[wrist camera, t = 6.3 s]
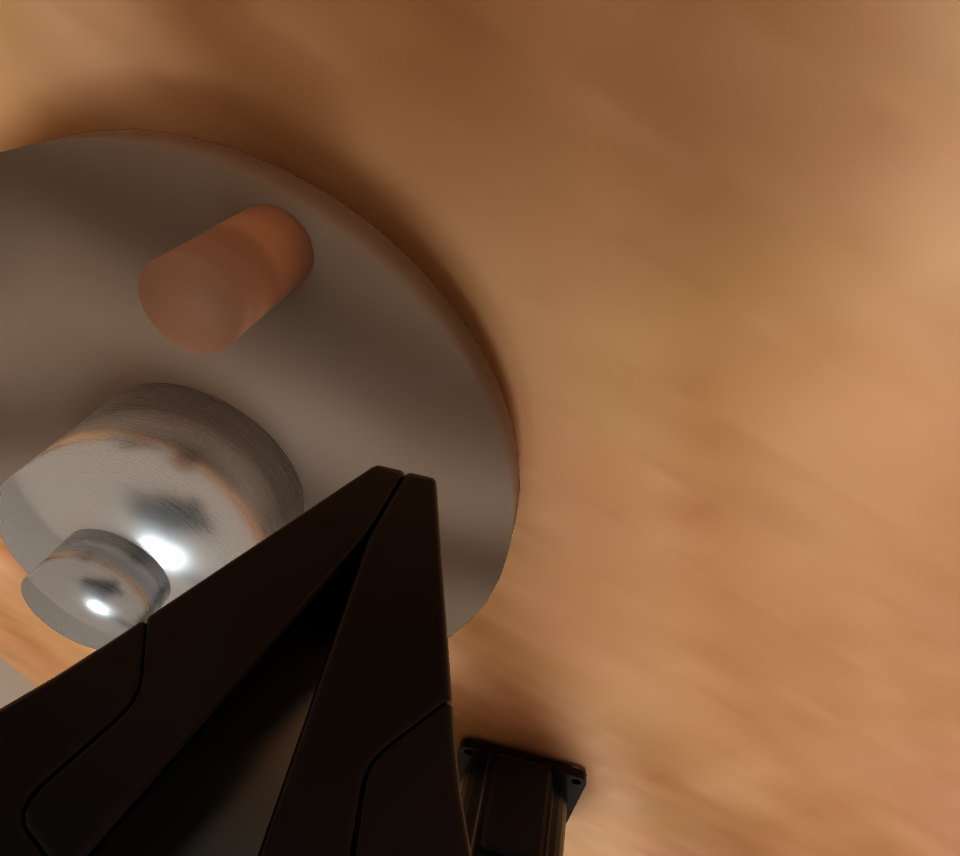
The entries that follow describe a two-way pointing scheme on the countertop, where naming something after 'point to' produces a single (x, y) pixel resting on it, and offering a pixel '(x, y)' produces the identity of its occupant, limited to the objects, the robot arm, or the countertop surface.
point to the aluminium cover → (142, 507)
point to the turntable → (246, 326)
